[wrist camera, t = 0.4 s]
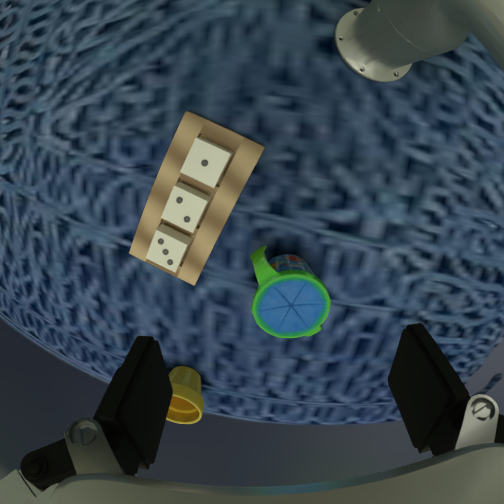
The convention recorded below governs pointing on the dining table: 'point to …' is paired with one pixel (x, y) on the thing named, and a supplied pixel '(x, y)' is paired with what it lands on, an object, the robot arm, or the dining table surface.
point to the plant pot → (185, 396)
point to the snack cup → (288, 296)
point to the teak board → (220, 195)
